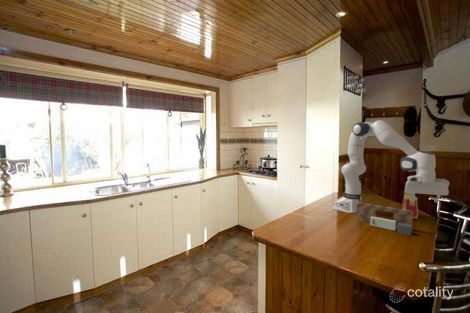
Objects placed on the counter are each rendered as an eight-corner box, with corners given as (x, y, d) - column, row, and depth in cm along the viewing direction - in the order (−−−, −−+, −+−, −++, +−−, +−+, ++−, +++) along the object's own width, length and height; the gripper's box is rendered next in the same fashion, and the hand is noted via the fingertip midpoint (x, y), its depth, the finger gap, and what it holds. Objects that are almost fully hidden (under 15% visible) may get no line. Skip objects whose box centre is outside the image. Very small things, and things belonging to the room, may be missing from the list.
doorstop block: (396, 232, 148) (397, 224, 148) (397, 229, 152) (398, 222, 151) (410, 235, 143) (411, 227, 143) (411, 232, 147) (411, 224, 147)
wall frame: (356, 219, 170) (356, 202, 169) (357, 219, 171) (357, 202, 170) (411, 231, 149) (412, 211, 148) (412, 230, 151) (413, 211, 149)
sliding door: (369, 225, 158) (370, 217, 157) (371, 224, 161) (371, 216, 160) (395, 230, 149) (395, 222, 148) (395, 229, 152) (396, 220, 151)
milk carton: (414, 214, 179) (416, 188, 177) (418, 218, 171) (419, 191, 169) (400, 213, 183) (401, 187, 181) (402, 216, 175) (404, 190, 173)
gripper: (448, 178, 137) (448, 201, 138) (404, 176, 149) (404, 198, 150) (450, 180, 132) (449, 204, 133) (405, 178, 144) (405, 200, 145)
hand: (425, 201), depth 141 cm, fingers open, 8 cm apart
